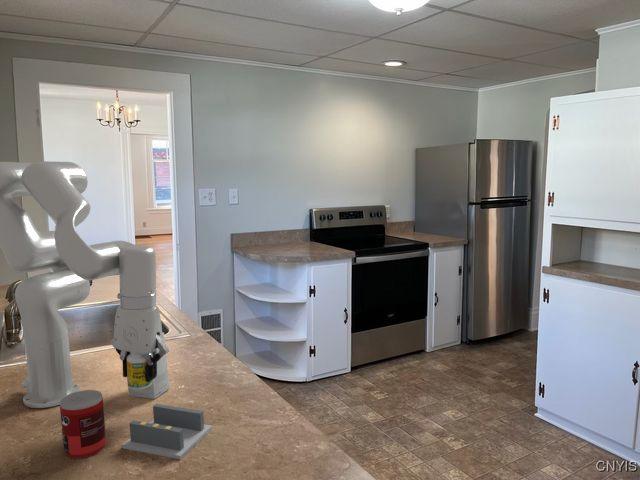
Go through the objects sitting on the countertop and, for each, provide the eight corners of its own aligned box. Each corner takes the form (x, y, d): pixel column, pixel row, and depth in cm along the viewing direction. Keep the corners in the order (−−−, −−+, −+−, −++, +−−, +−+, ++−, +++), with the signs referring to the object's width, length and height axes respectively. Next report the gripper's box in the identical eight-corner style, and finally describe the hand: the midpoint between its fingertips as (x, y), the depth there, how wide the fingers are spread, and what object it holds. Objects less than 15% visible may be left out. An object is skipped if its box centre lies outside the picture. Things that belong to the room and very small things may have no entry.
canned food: (73, 439, 104) (68, 390, 102) (111, 437, 104) (108, 388, 103) (57, 460, 96) (52, 408, 94) (98, 458, 97) (94, 405, 95)
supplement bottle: (148, 378, 115) (148, 339, 114) (155, 387, 111) (154, 347, 109) (125, 383, 112) (124, 343, 111) (130, 392, 108) (129, 351, 106)
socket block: (121, 448, 100) (120, 425, 99) (158, 419, 111) (156, 399, 111) (180, 459, 96) (179, 436, 95) (212, 429, 107) (211, 407, 106)
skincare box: (169, 389, 127) (166, 332, 125) (153, 401, 121) (149, 340, 118) (143, 385, 129) (139, 329, 127) (126, 396, 123) (121, 337, 121)
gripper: (94, 300, 107) (97, 377, 110) (160, 310, 102) (161, 391, 105) (118, 292, 115) (120, 364, 117) (181, 301, 109) (181, 376, 112)
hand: (139, 376), depth 111 cm, fingers closed on supplement bottle, 5 cm apart
